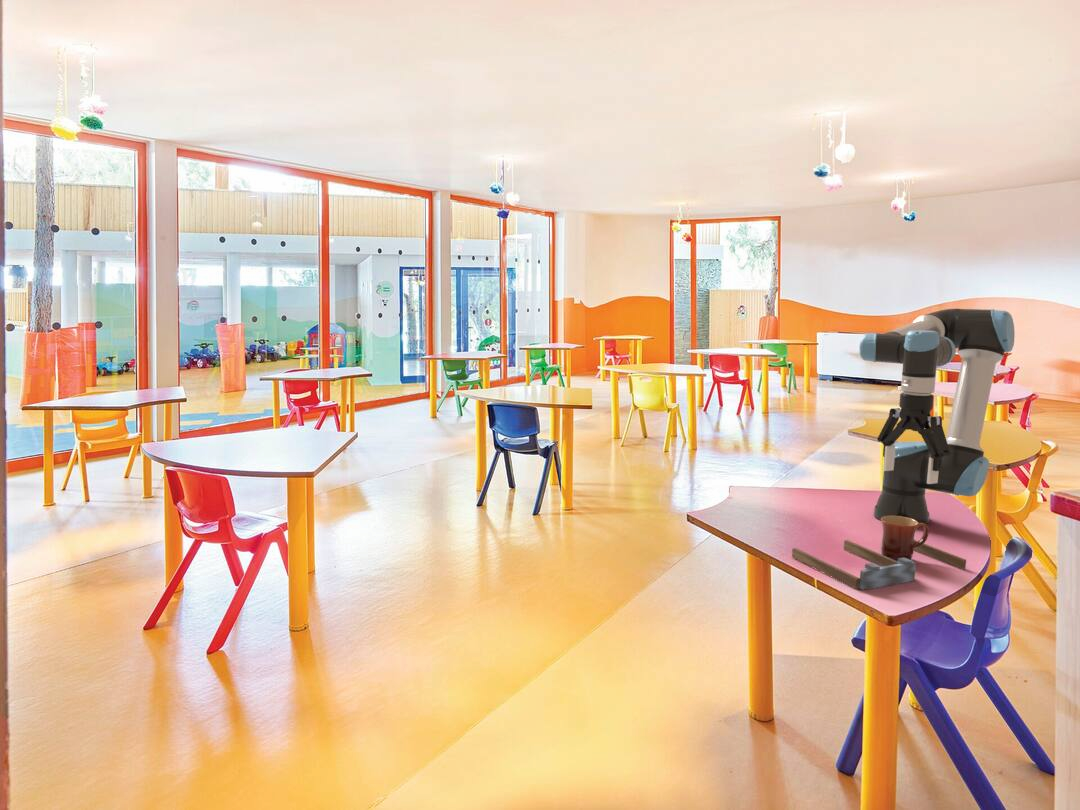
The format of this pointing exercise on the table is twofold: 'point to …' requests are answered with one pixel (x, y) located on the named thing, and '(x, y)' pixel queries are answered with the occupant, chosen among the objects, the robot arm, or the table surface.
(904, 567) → the bar
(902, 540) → the mug
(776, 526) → the table surface
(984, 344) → the robot arm
